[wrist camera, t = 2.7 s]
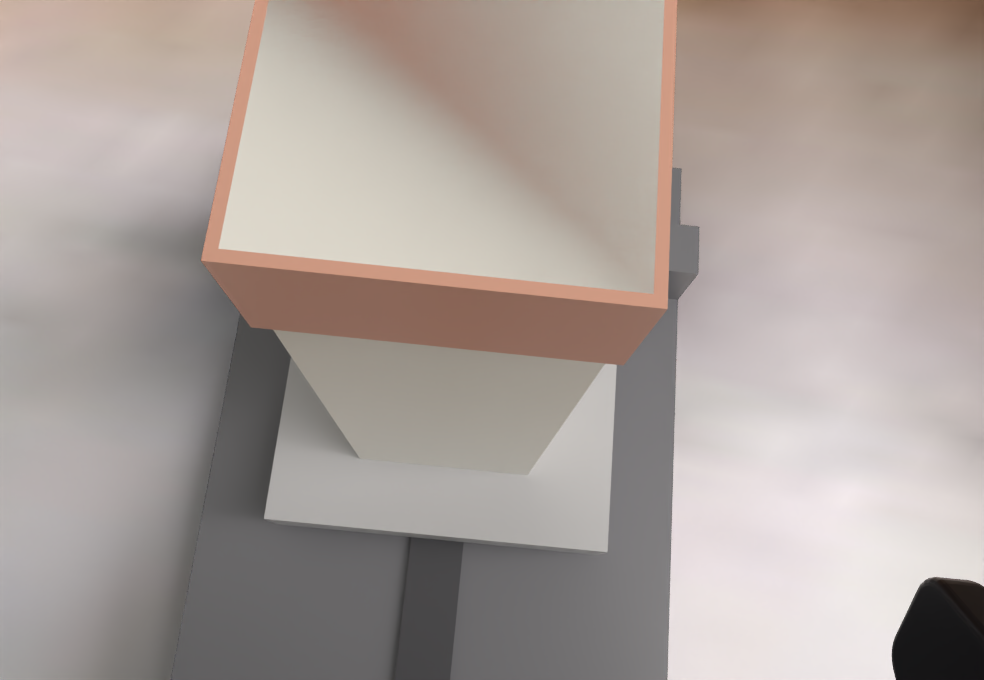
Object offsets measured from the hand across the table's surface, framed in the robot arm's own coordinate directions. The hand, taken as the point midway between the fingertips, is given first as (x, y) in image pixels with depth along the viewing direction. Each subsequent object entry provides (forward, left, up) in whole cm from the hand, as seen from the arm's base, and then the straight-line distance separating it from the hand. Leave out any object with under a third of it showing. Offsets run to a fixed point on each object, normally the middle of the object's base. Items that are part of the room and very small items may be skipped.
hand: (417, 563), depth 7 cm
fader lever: (+3, +2, -8) cm, 9 cm away
